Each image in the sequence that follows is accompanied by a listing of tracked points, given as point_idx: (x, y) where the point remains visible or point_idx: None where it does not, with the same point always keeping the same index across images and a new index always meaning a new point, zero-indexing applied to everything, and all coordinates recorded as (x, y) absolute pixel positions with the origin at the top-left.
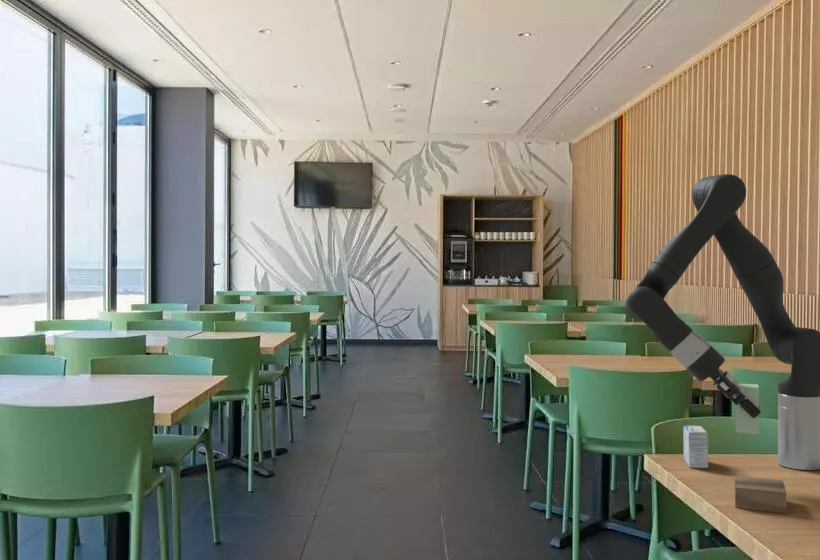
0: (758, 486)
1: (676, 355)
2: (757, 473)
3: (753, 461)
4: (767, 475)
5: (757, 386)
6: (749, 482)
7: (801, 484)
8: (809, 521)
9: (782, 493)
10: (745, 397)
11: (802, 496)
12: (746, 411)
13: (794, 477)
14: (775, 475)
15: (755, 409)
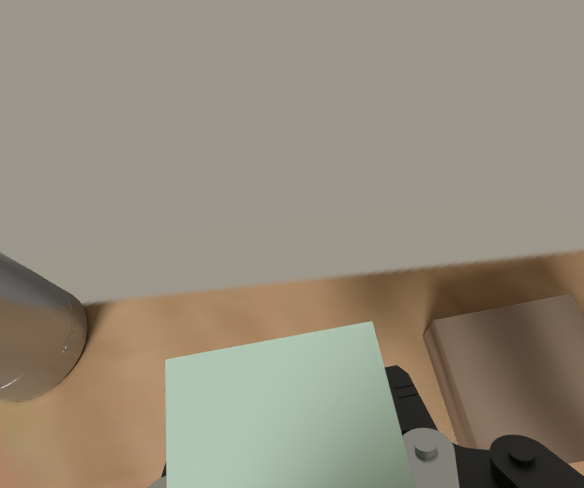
0: (570, 376)
1: None
2: None
3: (12, 482)
4: None
5: (297, 344)
6: (542, 411)
7: (236, 314)
8: (563, 260)
9: (575, 304)
10: (509, 438)
11: (354, 298)
12: None
13: (170, 338)
14: None
15: (409, 378)
